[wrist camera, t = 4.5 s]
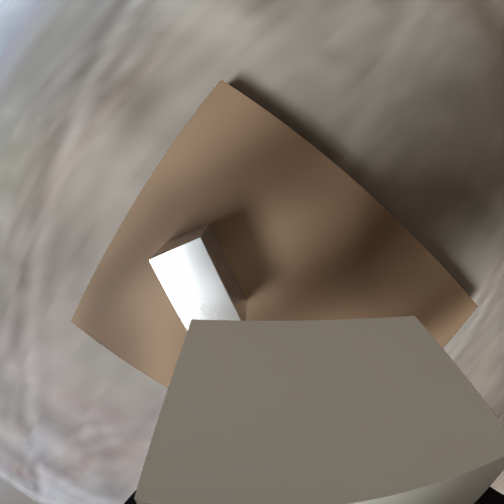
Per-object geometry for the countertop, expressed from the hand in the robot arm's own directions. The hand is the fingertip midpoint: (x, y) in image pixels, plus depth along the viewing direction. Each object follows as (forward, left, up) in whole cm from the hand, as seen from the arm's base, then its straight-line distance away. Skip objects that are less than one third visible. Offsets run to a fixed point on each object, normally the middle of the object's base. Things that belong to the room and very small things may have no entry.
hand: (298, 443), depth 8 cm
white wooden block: (+4, 0, -9) cm, 10 cm away
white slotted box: (0, 0, -1) cm, 1 cm away
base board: (-1, 0, -10) cm, 10 cm away
